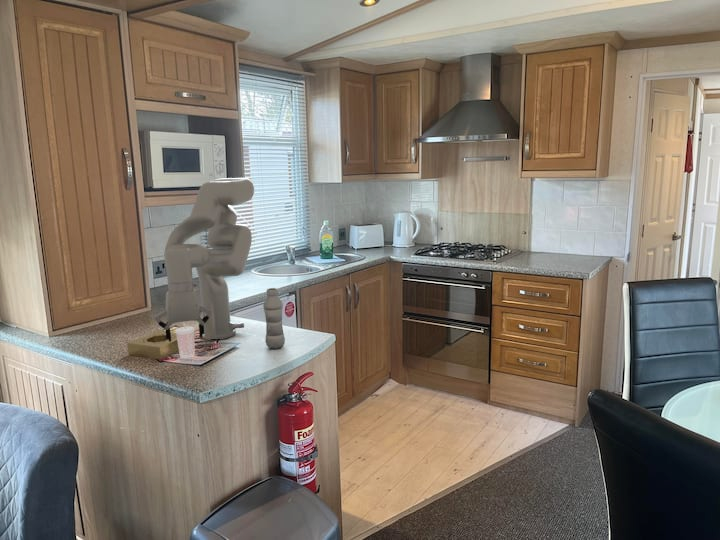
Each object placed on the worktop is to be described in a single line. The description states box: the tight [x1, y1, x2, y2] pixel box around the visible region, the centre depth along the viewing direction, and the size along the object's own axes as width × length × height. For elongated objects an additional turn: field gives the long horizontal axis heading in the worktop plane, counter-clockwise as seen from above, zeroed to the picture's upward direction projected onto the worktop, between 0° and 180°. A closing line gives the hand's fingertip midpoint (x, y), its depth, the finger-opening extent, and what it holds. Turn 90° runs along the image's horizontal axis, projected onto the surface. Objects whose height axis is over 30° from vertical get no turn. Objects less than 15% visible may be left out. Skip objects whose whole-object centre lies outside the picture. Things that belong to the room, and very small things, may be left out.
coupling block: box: [126, 330, 179, 360], centre depth 178 cm, size 14×14×4 cm
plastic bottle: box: [263, 287, 286, 349], centre depth 176 cm, size 6×7×20 cm
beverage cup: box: [174, 322, 196, 359], centre depth 171 cm, size 6×6×14 cm
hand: (185, 338), depth 171 cm, fingers open, 9 cm apart
